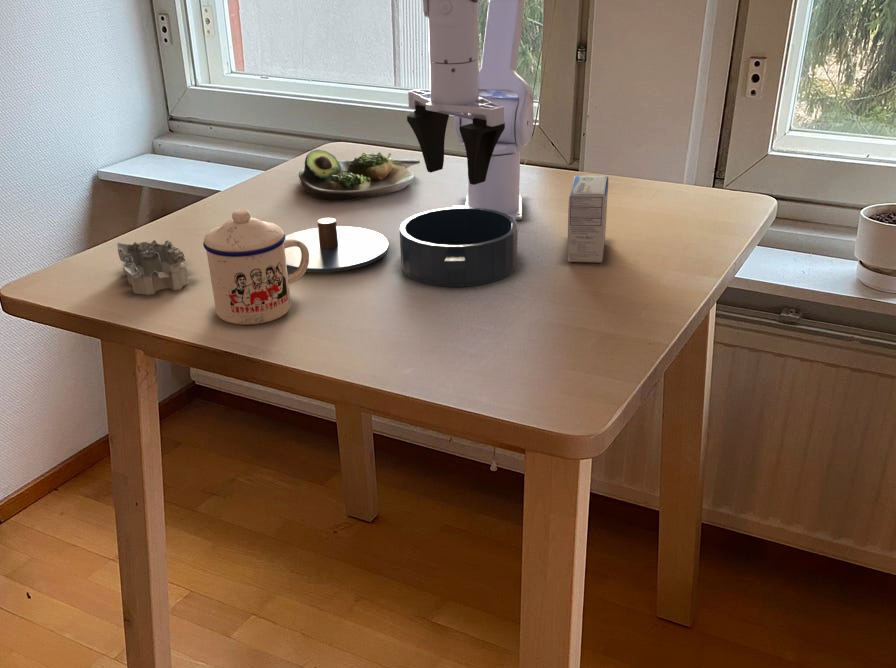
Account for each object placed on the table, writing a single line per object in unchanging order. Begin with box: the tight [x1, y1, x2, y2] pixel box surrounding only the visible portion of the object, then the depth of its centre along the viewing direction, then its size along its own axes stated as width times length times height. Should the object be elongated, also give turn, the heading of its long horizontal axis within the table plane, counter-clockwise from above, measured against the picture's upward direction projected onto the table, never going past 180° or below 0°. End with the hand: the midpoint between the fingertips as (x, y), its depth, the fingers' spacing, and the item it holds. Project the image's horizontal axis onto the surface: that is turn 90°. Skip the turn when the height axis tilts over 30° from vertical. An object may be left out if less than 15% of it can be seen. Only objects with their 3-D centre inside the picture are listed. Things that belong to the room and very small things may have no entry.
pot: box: [399, 205, 518, 288], centre depth 125 cm, size 14×20×5 cm
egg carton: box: [116, 239, 189, 296], centre depth 125 cm, size 11×8×4 cm
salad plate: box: [298, 149, 421, 202], centre depth 155 cm, size 19×18×5 cm
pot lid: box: [285, 217, 390, 273], centre depth 130 cm, size 15×15×4 cm
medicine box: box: [566, 174, 609, 264], centre depth 126 cm, size 8×4×9 cm, turn 168°
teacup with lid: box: [202, 209, 309, 326], centre depth 114 cm, size 12×9×12 cm
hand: (455, 176), depth 124 cm, fingers open, 7 cm apart
